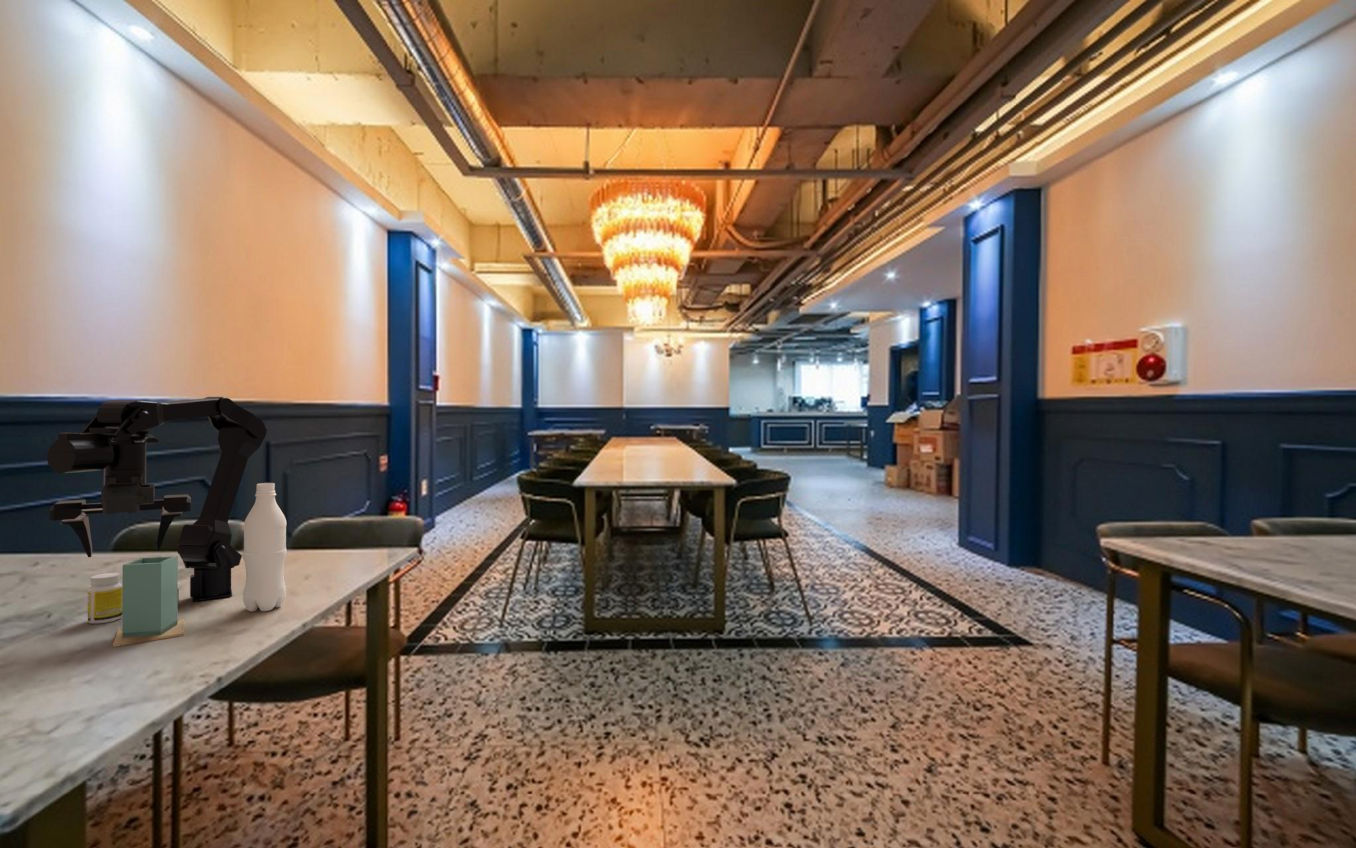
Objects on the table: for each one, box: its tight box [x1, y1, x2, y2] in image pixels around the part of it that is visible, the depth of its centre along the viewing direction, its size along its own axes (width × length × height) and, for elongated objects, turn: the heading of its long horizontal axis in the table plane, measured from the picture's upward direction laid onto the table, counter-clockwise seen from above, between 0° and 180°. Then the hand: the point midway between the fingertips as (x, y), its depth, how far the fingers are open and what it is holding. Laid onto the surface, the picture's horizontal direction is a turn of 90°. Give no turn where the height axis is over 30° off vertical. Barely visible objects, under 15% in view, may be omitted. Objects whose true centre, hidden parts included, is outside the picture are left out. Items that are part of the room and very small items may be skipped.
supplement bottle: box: [87, 572, 122, 625], centre depth 112 cm, size 5×5×8 cm
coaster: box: [112, 618, 185, 648], centre depth 106 cm, size 9×9×1 cm
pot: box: [121, 555, 179, 638], centre depth 106 cm, size 6×6×12 cm
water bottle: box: [242, 482, 288, 613], centre depth 120 cm, size 7×7×25 cm
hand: (124, 553), depth 110 cm, fingers open, 9 cm apart
